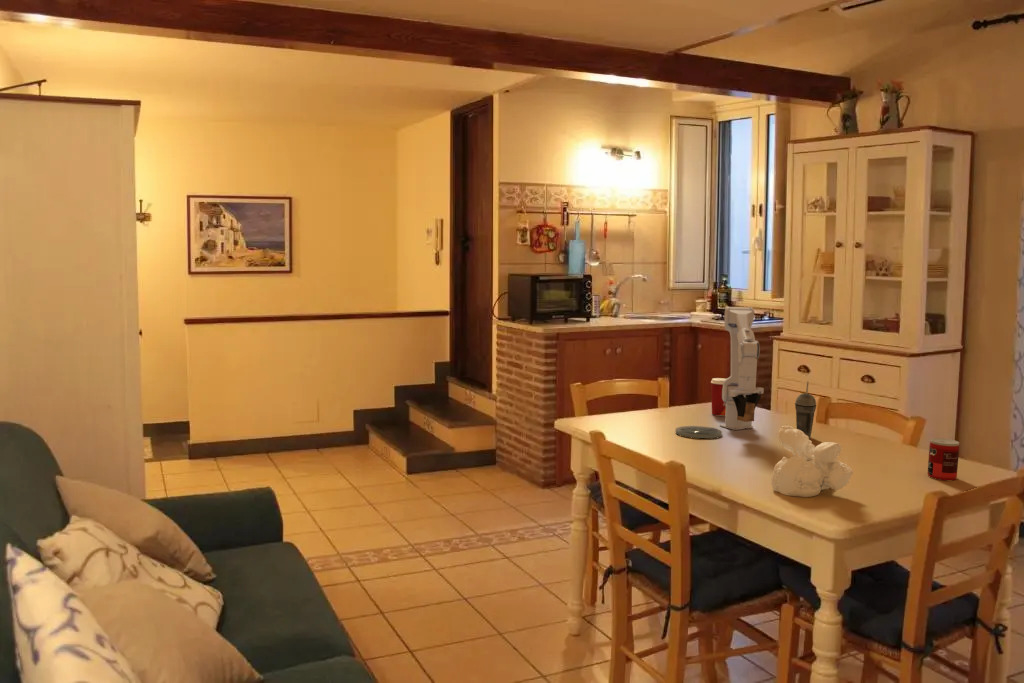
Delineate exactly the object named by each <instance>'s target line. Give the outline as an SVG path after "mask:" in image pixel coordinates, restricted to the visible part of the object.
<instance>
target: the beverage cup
mask: <svg viewBox="0 0 1024 683" xmlns="http://www.w3.org/2000/svg"><path fill="white" fill-rule="evenodd" d="M794 407H795V418H796V420H795V421H796V423H795V424H796V429H799V430H801V431H803V432H804V434H805V435H807V436H808V437H809V439H811V438H812V437H811V436H812V431H813V424H814V417H815V412H816V409H817V401H816V398H815V397H814V396H813V395H812V394H811V393H809V381H806V390H805V393H800V394H799V395H798V396H797V397H796V398H795V403H794Z"/></svg>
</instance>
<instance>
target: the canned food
mask: <svg viewBox="0 0 1024 683" xmlns="http://www.w3.org/2000/svg"><path fill="white" fill-rule="evenodd" d="M928 448H929V449H928V462H927V475H928V477H929V476H930V477H929V478H931V477H933V478H936V479H935V480H938V479H941V480H940V481H945V480H952V481H955V480H956V479H957V478H958V468H959V466H958V465H959V454H960V442H959V441H958V440H955V439H954V440H953V439H950V438H943V437H942V438H941V437H933V438H930V439H929V447H928ZM933 478H932V479H933Z"/></svg>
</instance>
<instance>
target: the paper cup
mask: <svg viewBox="0 0 1024 683" xmlns="http://www.w3.org/2000/svg"><path fill="white" fill-rule="evenodd" d="M726 379H727V378H722V377H714V378H713V377H712V379H711V381H710V384H711V390H710V391H711V415H712V414H714V415H713V416H715V415H725V413H726V402H724V401H723V399H722V388H723V382H724V381H725V380H726Z"/></svg>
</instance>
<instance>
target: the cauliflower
mask: <svg viewBox="0 0 1024 683" xmlns="http://www.w3.org/2000/svg"><path fill="white" fill-rule="evenodd" d="M777 434H778V439H779V442H780V443H781V445H782V447H783V448H784V450H786V451H789V452H790V453H791V455H792V456H791V457H789V458H787V457H786V456H783V457H782V458H781V460H779V461H778V462H776V463H775V465H774V468H773V471H772V476H771V486H772V490H773V491H774V492H777V493H780V495H784V496H787V497H788V496H789V497H800V498H811V497H815V496H818V495H819V494H820V493H821V491H825V490H829V489H832V490H835V491H838V490H841V489H843V488H844V487H846V486H847V485H848V484H849V483H850V479H852V475H853V472H854V471H853V469H852V468H851V466H849V465H848V464H846V463H844V462H841V461H840V460H838V459H839V458H838V457H839V456H840V454H841V452H842V444H840V443H839V442H838V443H837V442H831V441H823V442H822V443H819V444H818V445H815V444H813V443H812V440H810V438H809V437H808V436H807V435H805V434H804V432H803V431H801V430H799V429H797V428H794V427H793V426H791V425H788V424H786V425H782V426H780V428H779V430H778V433H777Z"/></svg>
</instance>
